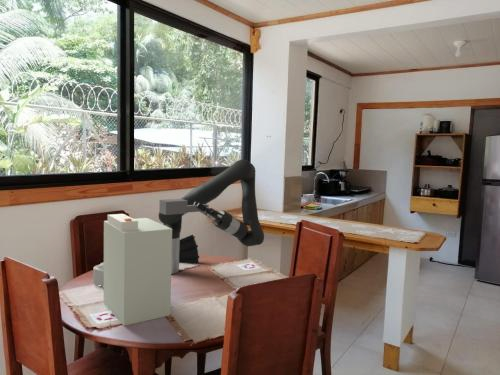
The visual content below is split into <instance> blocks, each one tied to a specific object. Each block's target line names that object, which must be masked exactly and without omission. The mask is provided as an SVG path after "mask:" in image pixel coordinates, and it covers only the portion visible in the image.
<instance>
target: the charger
mask: <svg viewBox="0 0 500 375" xmlns="http://www.w3.org/2000/svg"><path fill="white" fill-rule="evenodd" d="M203 205H205V206H206V207H209V208H210V206H209V204H208V203H207V204H203ZM201 211H202V210H200V209H199V208H197V205H188V201H187V200H183V199H181V198H171V199H169V198H168V199H159V211H158V214H159V213H162V214H164V215H172V214H184V215H186V214H188V213H197V212H198V213H201ZM185 213H186V214H185Z"/></svg>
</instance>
